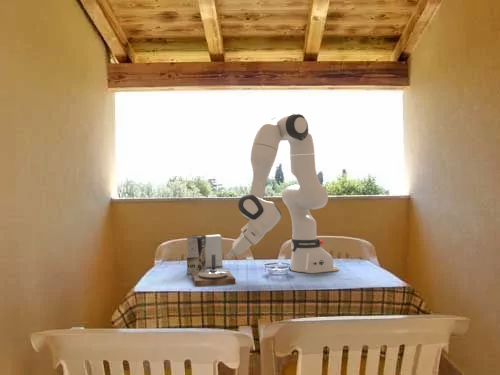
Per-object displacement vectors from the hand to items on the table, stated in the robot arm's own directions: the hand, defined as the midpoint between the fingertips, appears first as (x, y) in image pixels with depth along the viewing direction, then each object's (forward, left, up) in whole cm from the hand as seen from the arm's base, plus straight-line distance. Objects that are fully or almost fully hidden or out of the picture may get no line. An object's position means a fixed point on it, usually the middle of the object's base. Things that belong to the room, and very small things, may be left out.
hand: (227, 257), depth 188 cm
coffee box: (+11, -17, -9) cm, 22 cm away
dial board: (+6, +2, -9) cm, 11 cm away
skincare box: (+2, -29, -9) cm, 30 cm away
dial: (+6, +2, -7) cm, 9 cm away
